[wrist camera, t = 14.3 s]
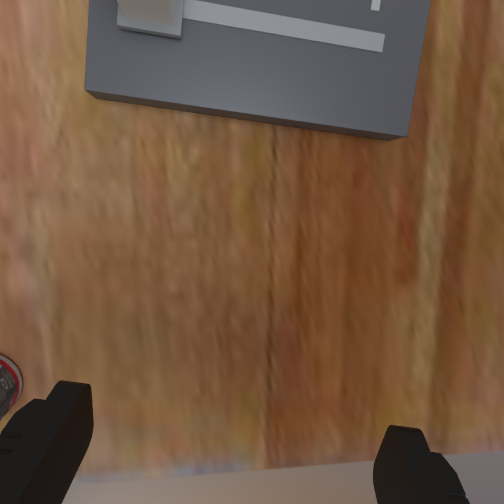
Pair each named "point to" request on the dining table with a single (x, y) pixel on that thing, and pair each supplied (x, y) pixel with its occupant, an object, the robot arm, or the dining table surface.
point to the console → (269, 62)
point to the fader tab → (151, 16)
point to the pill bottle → (8, 385)
